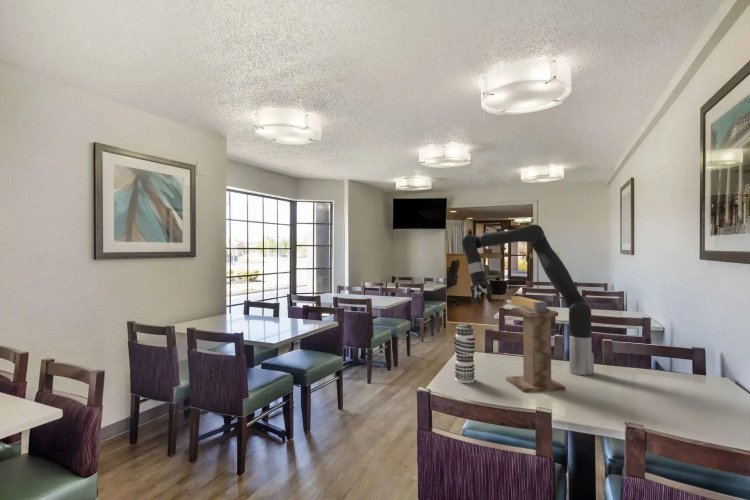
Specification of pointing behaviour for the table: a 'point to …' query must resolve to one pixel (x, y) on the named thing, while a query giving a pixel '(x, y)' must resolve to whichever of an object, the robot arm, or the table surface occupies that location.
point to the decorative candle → (464, 353)
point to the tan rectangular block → (529, 303)
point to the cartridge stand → (536, 352)
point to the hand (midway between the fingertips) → (484, 303)
